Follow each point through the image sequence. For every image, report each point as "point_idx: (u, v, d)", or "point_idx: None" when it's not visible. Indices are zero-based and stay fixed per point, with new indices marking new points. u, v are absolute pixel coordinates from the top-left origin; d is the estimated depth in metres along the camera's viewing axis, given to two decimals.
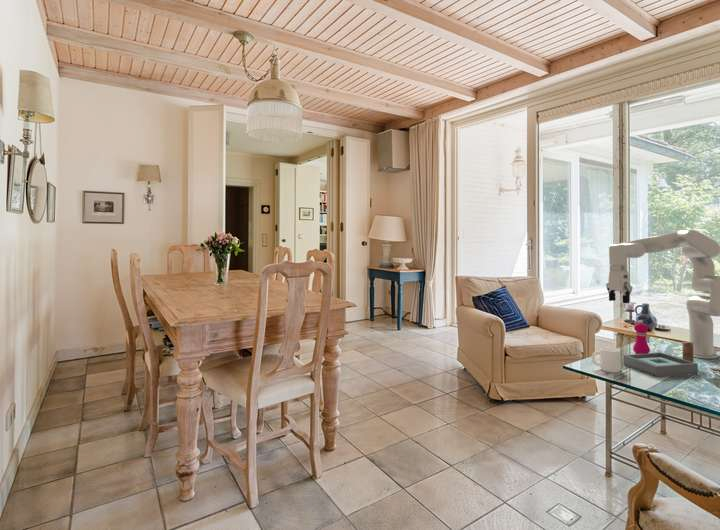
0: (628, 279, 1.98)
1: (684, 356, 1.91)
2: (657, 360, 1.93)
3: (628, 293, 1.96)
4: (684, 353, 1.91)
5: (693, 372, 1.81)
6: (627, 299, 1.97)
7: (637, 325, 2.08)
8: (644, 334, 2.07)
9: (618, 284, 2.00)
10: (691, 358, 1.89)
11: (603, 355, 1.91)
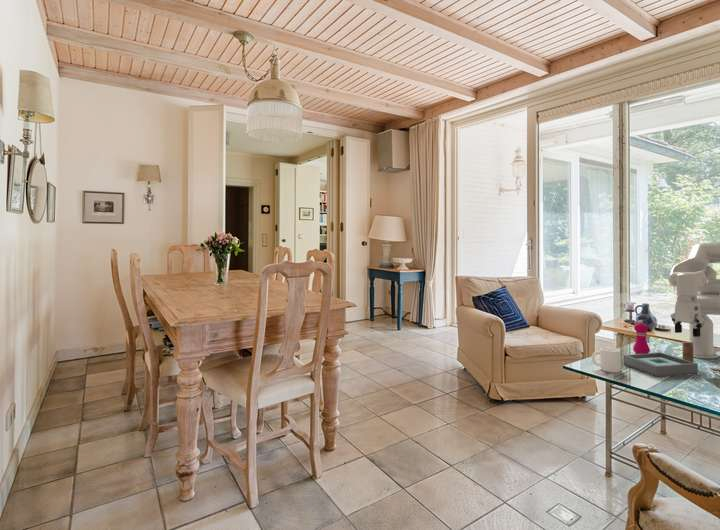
0: (699, 311, 1.85)
1: (684, 356, 1.91)
2: (657, 360, 1.93)
3: (700, 326, 1.83)
4: (684, 353, 1.91)
5: (693, 372, 1.81)
6: (698, 332, 1.85)
7: (637, 325, 2.08)
8: (644, 334, 2.07)
9: (688, 316, 1.87)
10: (691, 358, 1.89)
11: (603, 355, 1.91)
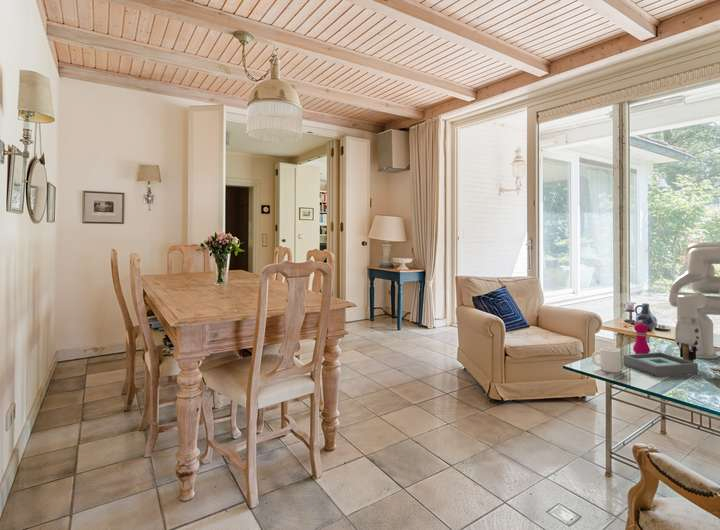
0: (699, 333, 1.86)
1: (684, 356, 1.91)
2: (657, 360, 1.93)
3: (695, 350, 1.87)
4: (684, 353, 1.91)
5: (693, 372, 1.81)
6: (694, 356, 1.88)
7: (637, 325, 2.08)
8: (644, 334, 2.07)
9: (688, 338, 1.88)
10: None
11: (603, 355, 1.91)
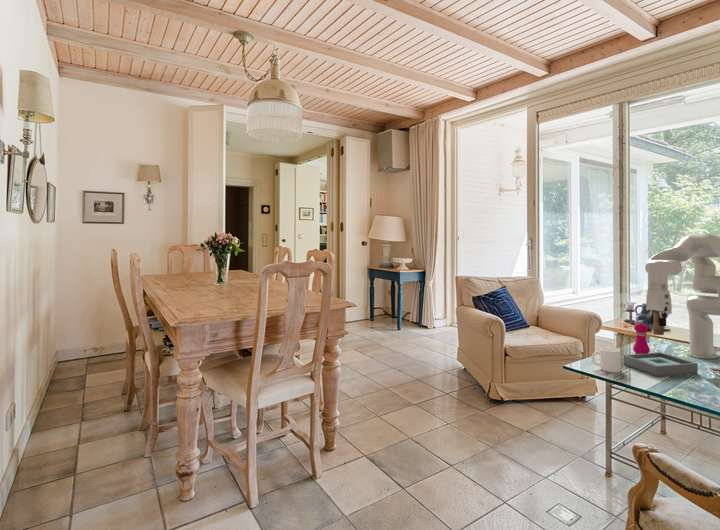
0: (669, 299, 1.84)
1: (654, 323, 1.89)
2: (657, 360, 1.93)
3: (665, 316, 1.85)
4: (654, 320, 1.89)
5: (693, 372, 1.81)
6: (664, 322, 1.86)
7: (637, 325, 2.08)
8: (644, 334, 2.07)
9: (658, 304, 1.86)
10: None
11: (603, 355, 1.91)
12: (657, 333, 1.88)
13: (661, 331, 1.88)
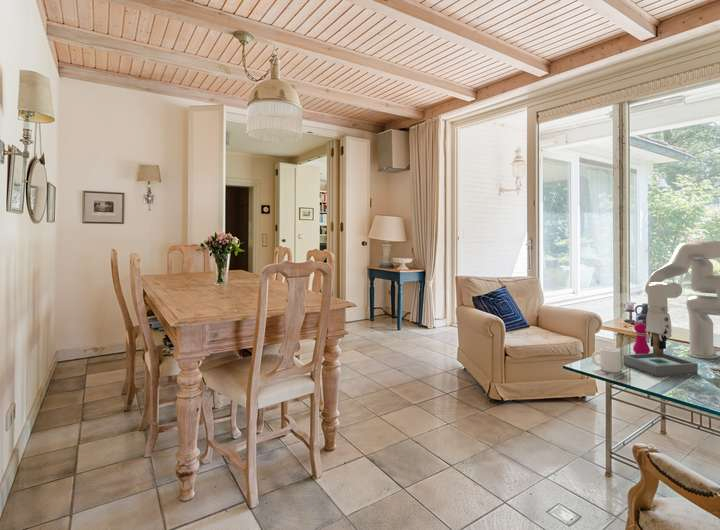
0: (669, 322, 1.85)
1: (654, 345, 1.89)
2: (657, 360, 1.93)
3: (665, 339, 1.85)
4: (654, 342, 1.89)
5: (693, 372, 1.81)
6: (664, 345, 1.86)
7: (637, 325, 2.08)
8: (644, 334, 2.07)
9: (658, 327, 1.86)
10: None
11: (603, 355, 1.91)
12: (657, 355, 1.89)
13: (661, 354, 1.88)
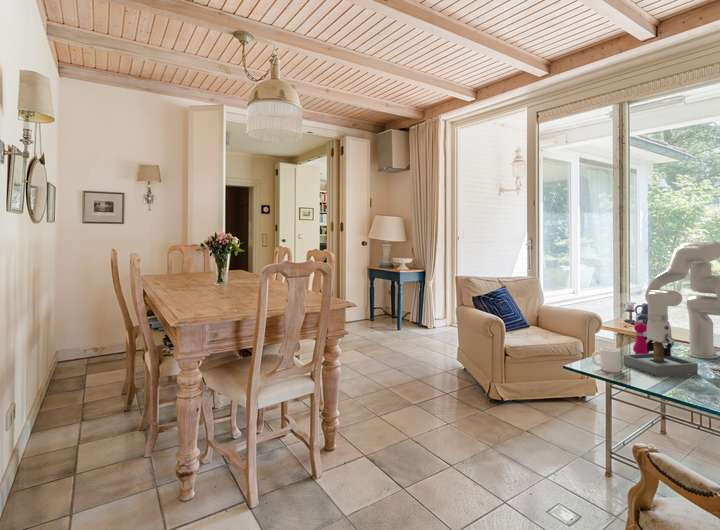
0: (669, 330, 1.85)
1: (655, 356, 1.90)
2: None
3: (670, 346, 1.83)
4: (655, 353, 1.90)
5: (693, 372, 1.81)
6: (668, 352, 1.84)
7: (637, 325, 2.08)
8: None
9: (658, 335, 1.87)
10: (662, 358, 1.88)
11: (603, 355, 1.91)
12: None
13: None
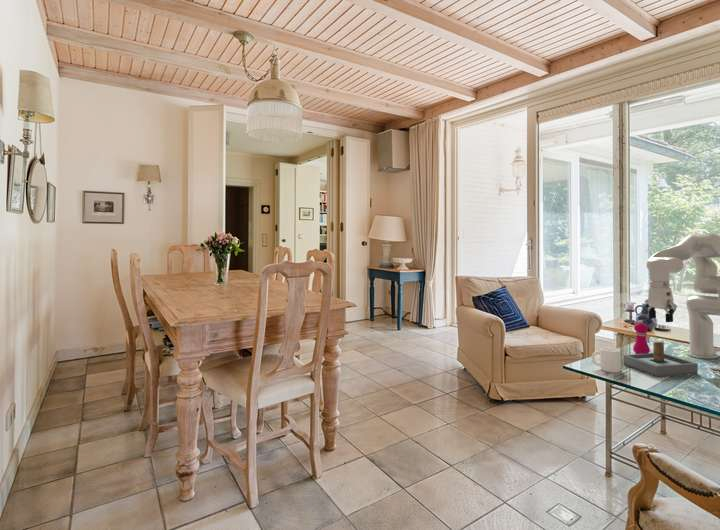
0: (671, 296, 1.86)
1: (655, 356, 1.90)
2: None
3: (672, 312, 1.84)
4: (655, 353, 1.90)
5: (693, 372, 1.81)
6: (671, 318, 1.85)
7: (637, 325, 2.08)
8: (644, 334, 2.07)
9: (660, 302, 1.87)
10: (662, 358, 1.88)
11: (603, 355, 1.91)
12: None
13: None
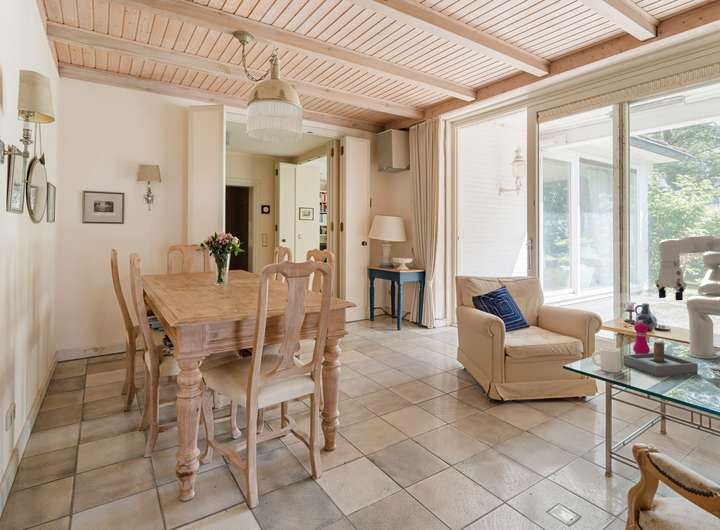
0: (681, 275, 1.92)
1: (655, 356, 1.89)
2: None
3: (682, 290, 1.90)
4: (655, 353, 1.89)
5: (693, 372, 1.81)
6: (680, 296, 1.91)
7: (637, 325, 2.08)
8: (644, 334, 2.07)
9: (670, 281, 1.94)
10: (662, 358, 1.88)
11: (603, 355, 1.91)
12: None
13: None
